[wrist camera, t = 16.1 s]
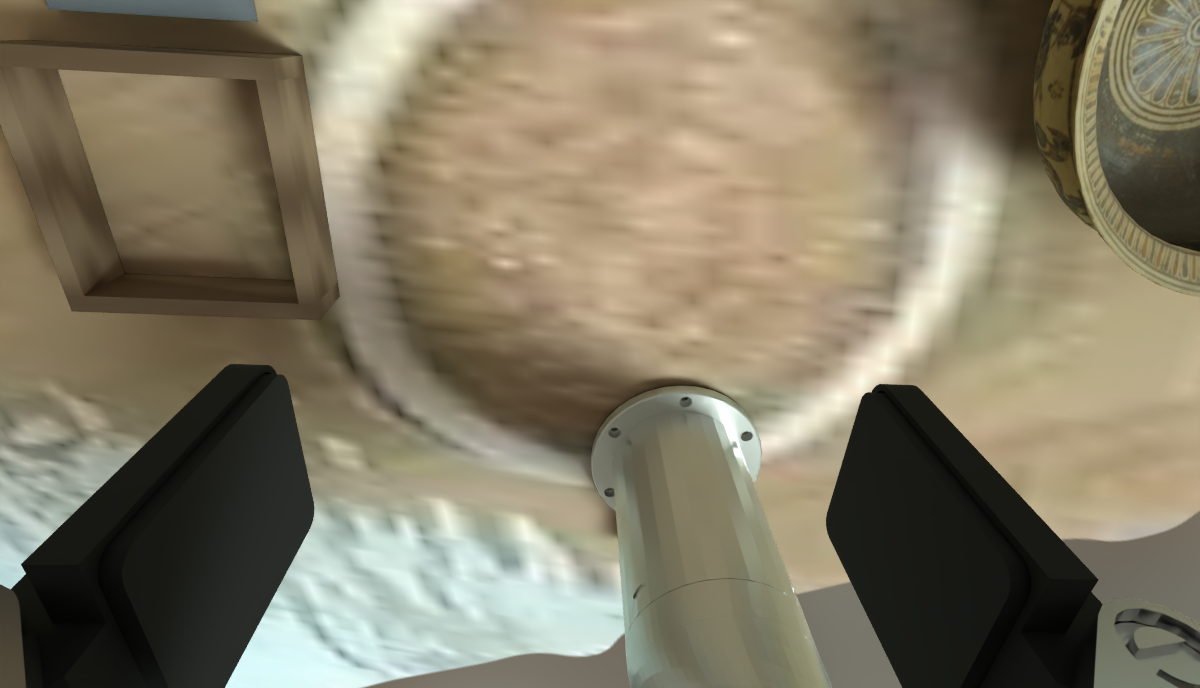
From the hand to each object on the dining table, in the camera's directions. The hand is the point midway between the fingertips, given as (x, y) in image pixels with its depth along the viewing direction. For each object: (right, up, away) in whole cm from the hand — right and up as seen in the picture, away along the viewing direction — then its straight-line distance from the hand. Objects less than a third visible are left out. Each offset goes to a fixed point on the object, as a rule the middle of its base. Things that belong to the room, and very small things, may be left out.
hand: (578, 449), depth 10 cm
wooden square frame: (-23, +11, +25) cm, 36 cm away
